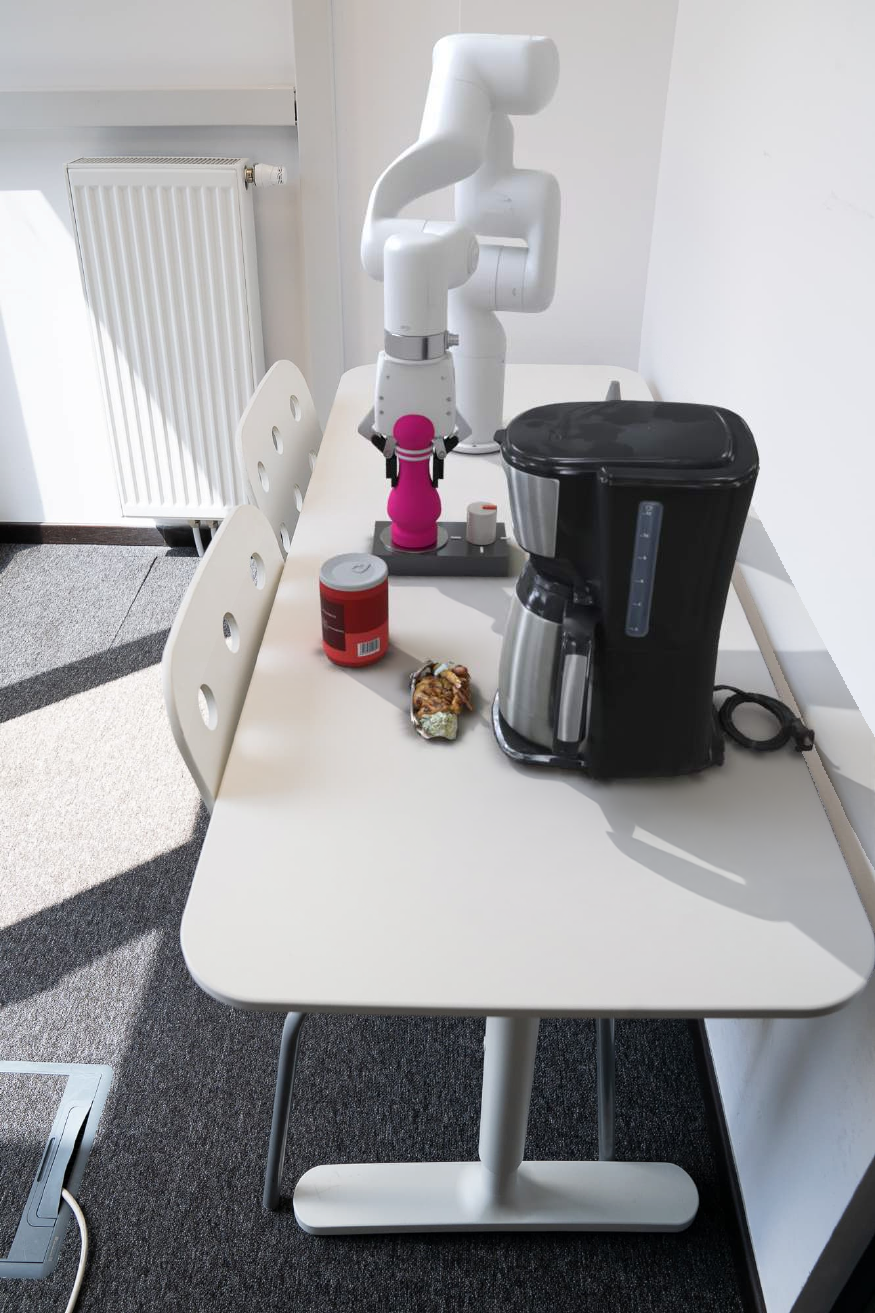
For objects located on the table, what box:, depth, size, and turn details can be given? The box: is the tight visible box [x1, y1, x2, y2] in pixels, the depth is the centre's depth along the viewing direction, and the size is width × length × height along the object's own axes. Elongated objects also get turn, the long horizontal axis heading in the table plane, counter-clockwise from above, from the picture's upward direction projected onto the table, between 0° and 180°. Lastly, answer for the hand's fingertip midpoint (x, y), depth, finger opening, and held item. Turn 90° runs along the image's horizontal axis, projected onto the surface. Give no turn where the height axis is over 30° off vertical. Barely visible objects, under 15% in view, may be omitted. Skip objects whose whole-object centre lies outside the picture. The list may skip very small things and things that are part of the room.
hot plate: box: [371, 520, 512, 577], centre depth 140 cm, size 19×10×3 cm, turn 90°
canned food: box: [318, 552, 390, 668], centre depth 118 cm, size 8×8×11 cm
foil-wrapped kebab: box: [408, 657, 474, 740], centre depth 111 cm, size 7×12×4 cm, turn 2°
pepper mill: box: [386, 414, 443, 548], centre depth 132 cm, size 7×7×20 cm
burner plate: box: [380, 525, 448, 554], centre depth 139 cm, size 9×9×1 cm
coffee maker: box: [491, 399, 816, 781], centre depth 101 cm, size 23×32×34 cm
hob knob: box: [466, 501, 498, 545], centre depth 138 cm, size 4×4×5 cm
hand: (414, 482), depth 134 cm, fingers closed on pepper mill, 4 cm apart
